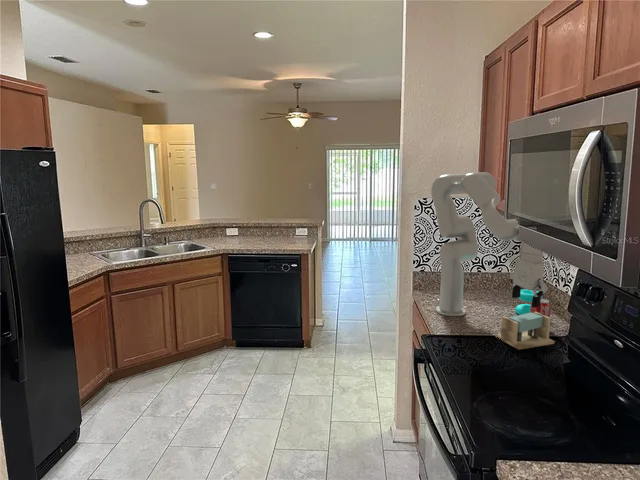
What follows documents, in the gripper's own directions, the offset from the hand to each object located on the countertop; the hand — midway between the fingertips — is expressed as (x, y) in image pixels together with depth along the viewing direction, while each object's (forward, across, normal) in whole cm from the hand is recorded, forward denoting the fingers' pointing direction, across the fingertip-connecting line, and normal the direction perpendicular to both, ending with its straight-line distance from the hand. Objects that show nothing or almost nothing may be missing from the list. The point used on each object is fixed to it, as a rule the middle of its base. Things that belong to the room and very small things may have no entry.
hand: (525, 301), depth 161 cm
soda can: (+15, -5, +14) cm, 21 cm away
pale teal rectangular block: (+10, +1, 0) cm, 10 cm away
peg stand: (+15, +1, 0) cm, 15 cm away
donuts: (+16, -21, +22) cm, 34 cm away
